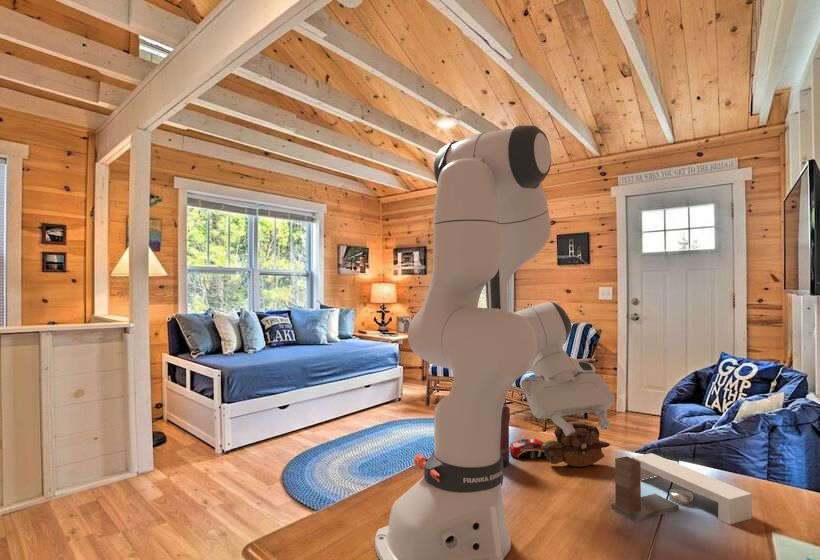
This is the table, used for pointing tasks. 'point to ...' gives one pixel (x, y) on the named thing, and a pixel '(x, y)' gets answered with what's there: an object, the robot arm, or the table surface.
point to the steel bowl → (681, 496)
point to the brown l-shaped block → (636, 493)
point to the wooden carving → (575, 446)
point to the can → (505, 434)
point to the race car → (527, 449)
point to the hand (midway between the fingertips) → (589, 431)
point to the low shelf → (700, 487)
